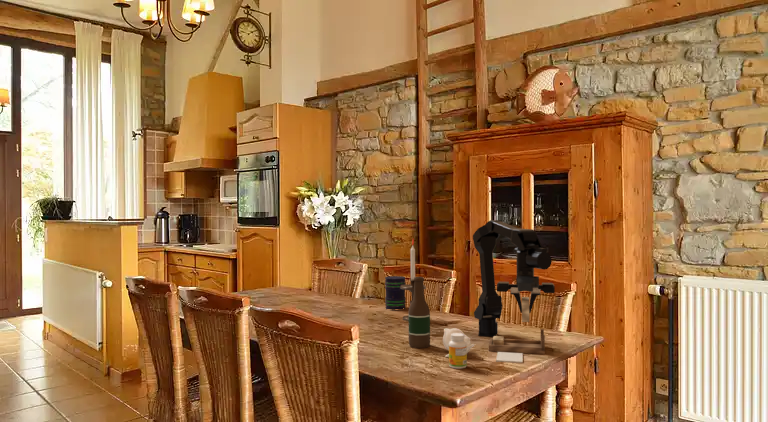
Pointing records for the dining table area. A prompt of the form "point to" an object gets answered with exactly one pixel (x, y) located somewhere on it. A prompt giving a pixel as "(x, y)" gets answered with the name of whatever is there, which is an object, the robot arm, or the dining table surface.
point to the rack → (520, 345)
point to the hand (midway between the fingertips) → (525, 312)
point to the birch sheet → (525, 309)
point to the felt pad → (509, 357)
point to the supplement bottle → (457, 351)
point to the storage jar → (395, 292)
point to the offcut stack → (498, 340)
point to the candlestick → (411, 286)
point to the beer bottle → (419, 317)
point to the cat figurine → (448, 338)
